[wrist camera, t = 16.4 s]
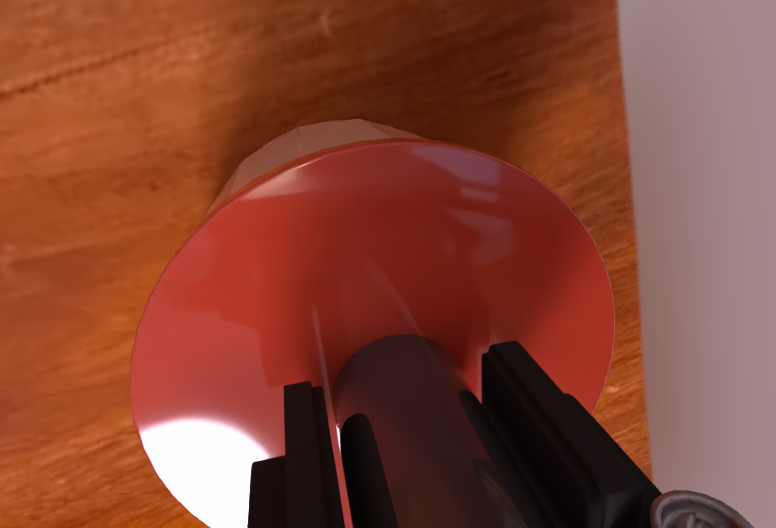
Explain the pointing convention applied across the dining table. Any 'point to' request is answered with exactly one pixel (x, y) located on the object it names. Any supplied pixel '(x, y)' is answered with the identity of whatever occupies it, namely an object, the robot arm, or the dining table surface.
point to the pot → (304, 148)
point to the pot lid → (369, 331)
